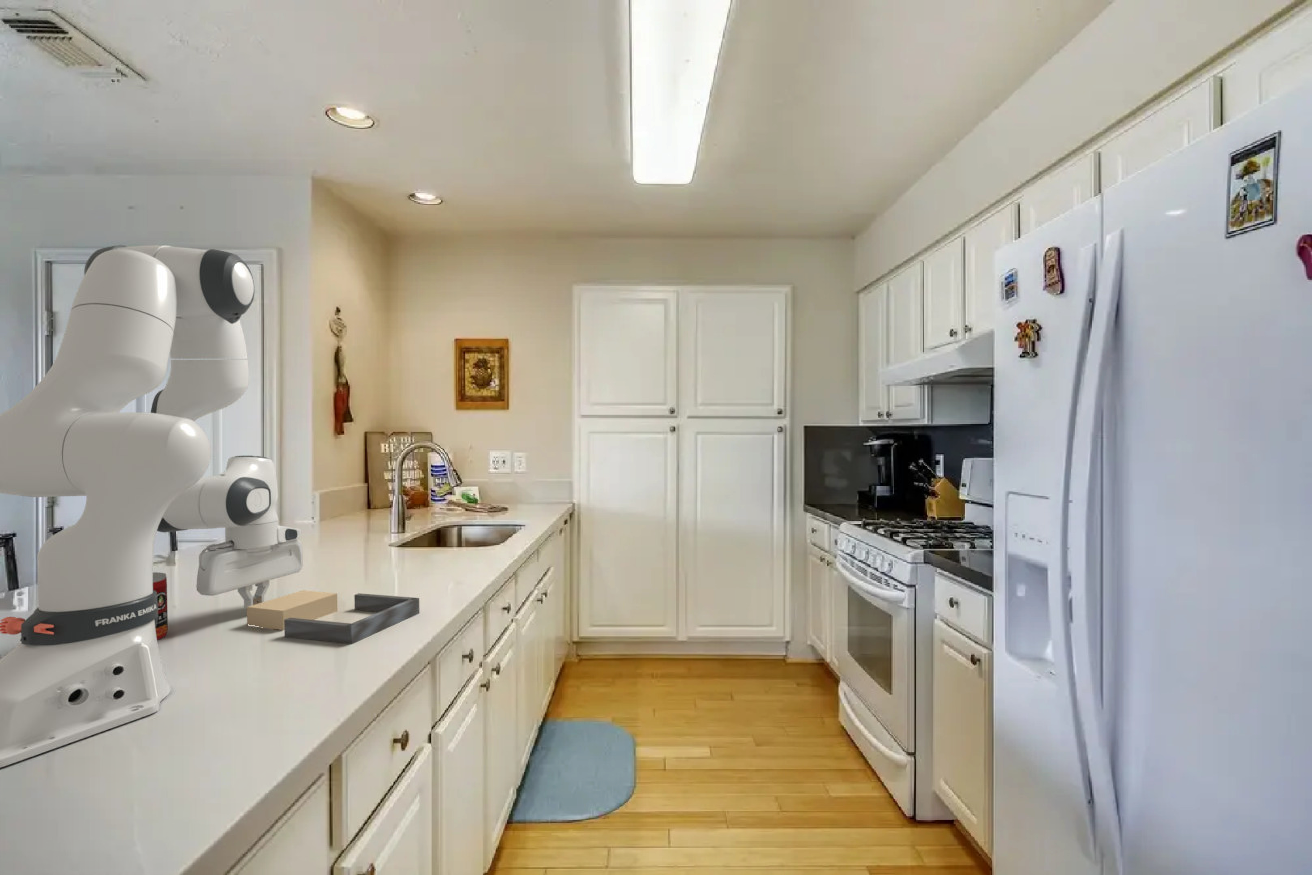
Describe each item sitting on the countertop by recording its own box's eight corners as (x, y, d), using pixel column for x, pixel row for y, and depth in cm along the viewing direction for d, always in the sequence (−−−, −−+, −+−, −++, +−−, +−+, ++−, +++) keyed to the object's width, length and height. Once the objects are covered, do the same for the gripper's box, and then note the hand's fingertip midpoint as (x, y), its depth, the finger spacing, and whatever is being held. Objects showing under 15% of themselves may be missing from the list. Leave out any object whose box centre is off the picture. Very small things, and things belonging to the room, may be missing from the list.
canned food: (142, 647, 100) (140, 582, 100) (96, 647, 100) (94, 583, 100) (179, 631, 108) (178, 571, 108) (136, 632, 108) (135, 572, 108)
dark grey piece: (352, 643, 100) (351, 626, 100) (284, 636, 104) (284, 619, 104) (419, 613, 117) (419, 598, 117) (359, 607, 121) (358, 593, 121)
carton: (283, 632, 108) (283, 610, 108) (247, 628, 111) (246, 606, 111) (337, 613, 119) (337, 593, 119) (303, 609, 122) (303, 590, 122)
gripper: (212, 547, 107) (214, 623, 107) (307, 528, 126) (309, 593, 126) (186, 546, 108) (188, 621, 109) (284, 527, 128) (286, 591, 128)
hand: (254, 605), depth 118 cm, fingers closed
